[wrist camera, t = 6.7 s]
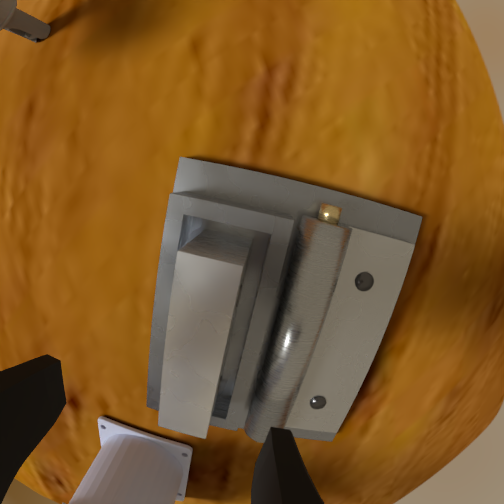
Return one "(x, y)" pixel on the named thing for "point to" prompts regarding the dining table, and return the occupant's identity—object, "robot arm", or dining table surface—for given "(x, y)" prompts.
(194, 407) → the brushed steel bar
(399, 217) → the fixed leaf
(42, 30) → the mechanical component
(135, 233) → the dining table surface
